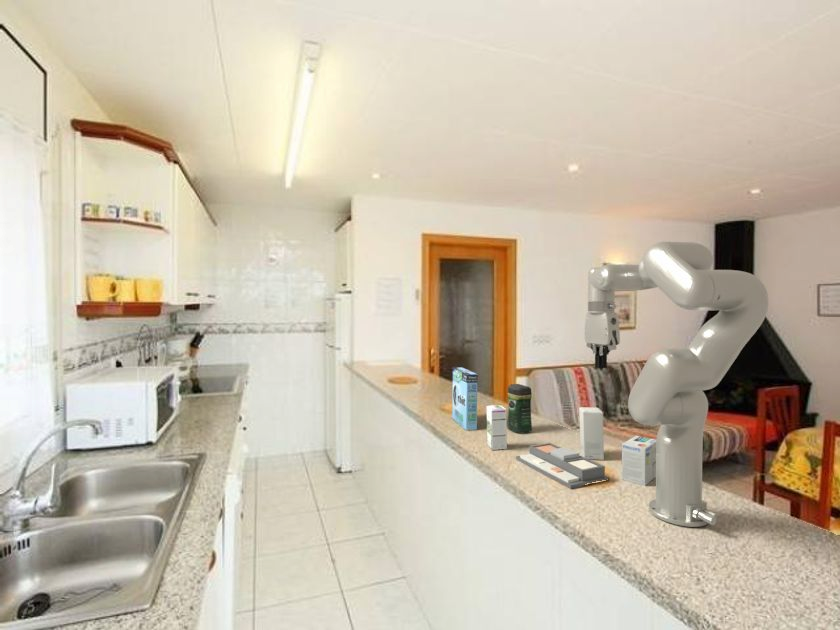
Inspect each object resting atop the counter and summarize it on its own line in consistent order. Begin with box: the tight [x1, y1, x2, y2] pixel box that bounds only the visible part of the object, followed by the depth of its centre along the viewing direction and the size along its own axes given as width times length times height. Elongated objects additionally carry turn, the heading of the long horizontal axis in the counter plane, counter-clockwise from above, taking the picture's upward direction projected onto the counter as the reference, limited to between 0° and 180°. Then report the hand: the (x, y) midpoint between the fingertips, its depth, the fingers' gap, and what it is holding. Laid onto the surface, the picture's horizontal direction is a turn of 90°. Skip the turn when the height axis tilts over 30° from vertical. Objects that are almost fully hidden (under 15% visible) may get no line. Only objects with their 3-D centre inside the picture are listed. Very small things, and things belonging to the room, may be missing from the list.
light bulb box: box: [621, 435, 657, 486], centre depth 128 cm, size 11×7×11 cm, turn 135°
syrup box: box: [486, 404, 508, 451], centre depth 155 cm, size 6×6×14 cm
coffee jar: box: [507, 383, 533, 434], centre depth 176 cm, size 10×8×19 cm
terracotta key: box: [535, 445, 558, 453], centre depth 142 cm, size 6×6×2 cm
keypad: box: [515, 442, 610, 490], centre depth 135 cm, size 25×14×4 cm, turn 23°
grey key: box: [550, 446, 580, 461], centre depth 135 cm, size 6×6×2 cm
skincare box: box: [578, 406, 605, 461], centre depth 147 cm, size 8×7×16 cm
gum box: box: [451, 366, 479, 431], centre depth 186 cm, size 20×5×23 cm, turn 13°
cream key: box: [568, 460, 597, 469], centre depth 128 cm, size 6×6×2 cm
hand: (600, 367), depth 134 cm, fingers closed
